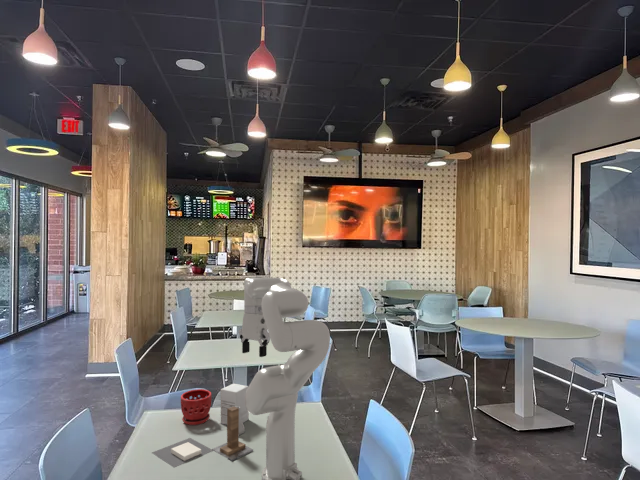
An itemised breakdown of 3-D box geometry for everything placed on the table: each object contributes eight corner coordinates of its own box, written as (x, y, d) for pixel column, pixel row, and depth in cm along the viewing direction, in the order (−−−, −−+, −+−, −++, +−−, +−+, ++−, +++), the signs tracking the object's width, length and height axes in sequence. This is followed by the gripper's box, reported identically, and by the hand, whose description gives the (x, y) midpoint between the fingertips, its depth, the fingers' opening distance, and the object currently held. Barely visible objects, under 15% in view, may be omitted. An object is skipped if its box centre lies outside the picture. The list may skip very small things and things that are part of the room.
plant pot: (175, 421, 183) (175, 393, 183) (203, 413, 192) (203, 387, 192) (188, 430, 173) (188, 401, 173) (216, 421, 182) (216, 394, 182)
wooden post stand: (245, 447, 157) (245, 407, 157) (228, 455, 151) (228, 413, 151) (237, 443, 160) (237, 403, 160) (219, 451, 154) (220, 410, 154)
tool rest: (253, 451, 155) (253, 449, 155) (231, 461, 148) (231, 459, 148) (233, 441, 163) (233, 439, 163) (211, 450, 156) (211, 449, 156)
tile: (188, 446, 158) (201, 454, 152) (171, 453, 153) (184, 461, 147) (188, 442, 158) (201, 449, 152) (171, 448, 153) (184, 456, 147)
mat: (213, 451, 155) (213, 450, 155) (174, 468, 143) (174, 467, 143) (190, 438, 166) (190, 437, 166) (151, 453, 153) (151, 452, 153)
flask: (240, 436, 167) (240, 411, 168) (224, 435, 169) (224, 410, 169) (247, 429, 174) (247, 405, 175) (231, 427, 176) (231, 403, 176)
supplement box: (233, 416, 188) (233, 382, 189) (249, 419, 184) (249, 385, 185) (219, 423, 180) (219, 388, 180) (236, 427, 176) (236, 392, 176)
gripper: (276, 310, 157) (277, 356, 157) (246, 307, 168) (246, 349, 168) (262, 312, 151) (262, 360, 151) (232, 309, 162) (232, 353, 162)
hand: (254, 354), depth 159 cm, fingers open, 9 cm apart
